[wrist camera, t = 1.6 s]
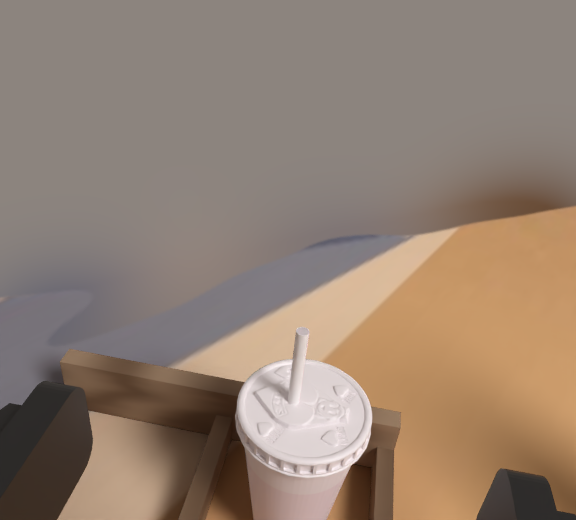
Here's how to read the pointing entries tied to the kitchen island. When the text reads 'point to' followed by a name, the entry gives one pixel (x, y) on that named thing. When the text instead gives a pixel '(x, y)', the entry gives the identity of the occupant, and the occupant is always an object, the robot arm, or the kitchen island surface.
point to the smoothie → (300, 434)
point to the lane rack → (207, 419)
